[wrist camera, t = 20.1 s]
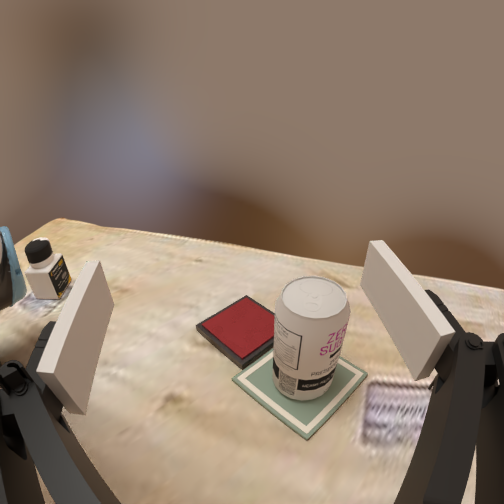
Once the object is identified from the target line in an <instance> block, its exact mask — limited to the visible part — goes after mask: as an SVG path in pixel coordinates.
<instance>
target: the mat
mask: <svg viewBox="0 0 504 504" xmlns="http://www.w3.org/2000/svg"><path fill="white" fill-rule="evenodd" d="M272 373H273V348H272V349H271V350H270V351H268V352H267V353H266V354H264V355H263V356H262V357H260V358H259V359H258V360H256V361H255V362H254V363H252V364H251V365H249V366H248V367H247V368H245V369H244V370H243V371H241V372H240V373H238V374H237V375H236V376H234V377H233V378H232V381H233V382H234V383H236V384H237V385H238V386H239V387H240V388H241V389H243V390H244V391H245V392H246V393H247V394H248V395H250V396H251V397H252V398H253V399H254V400H256V401H257V402H258V403H259V404H260V405H262V406H263V407H264V408H265V409H267V410H268V411H269V412H270V413H271V414H273V415H274V416H275V417H276V418H278V419H279V420H280V421H282V422H283V423H284V424H285V425H287V426H288V427H289V428H291V429H292V430H293V431H294V432H296V433H297V434H298V435H300V436H301V437H302V438H304V439H305V440H306V441H307V440H308V439H309V438H310V437H311V436H312V435H313V434H314V433H315V432H316V431H317V430H318V429H319V428H320V427H321V426H322V425H323V424H324V423H325V422H326V421H327V420H328V419H329V418H330V417H331V416H332V415H333V413H334V412H335V411H336V410H337V409H338V408H339V407H340V406H341V405H342V404H343V403H344V402H345V400H346V399H347V398H348V397H349V396H350V395H351V394H352V393H353V391H354V390H355V389H356V388H357V387H358V386H359V384H360V383H361V382H362V381H363V380H364V379H365V377H366V376H367V375H368V373H367V372H365V371H363V370H362V369H360V368H358V367H357V366H355V365H353V364H352V363H350V362H348V361H347V360H345V359H344V358H342V357H340V356H339V359H338V363H337V366H336V370H335V373H334V377H333V380H332V383H331V385H330V387H329V389H328V390H327V391H326V392H325V393H324V394H323V395H321V396H319V397H317V398H315V399H312V400H303V401H301V400H296V399H291V398H289V397H287V396H285V395H283V394H282V393H281V392H280V391H279V390H278V389H277V388H276V387H275V384H274V382H273V379H272Z"/></svg>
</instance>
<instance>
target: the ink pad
mask: <svg viewBox="0 0 504 504" xmlns="http://www.w3.org/2000/svg"><path fill="white" fill-rule="evenodd" d="M274 318H275V313H273V312H272V311H270V310H268V309H267V308H265V307H264V306H262V305H261V304H259V303H258V302H256V301H255V300H253V299H252V298H250V297H249V296H247V295H246V296H244V297H243V298H241V299H239V300H238V301H236V302H234V303H233V304H231V305H229V306H228V307H226V308H224V309H223V310H221V311H219V312H218V313H216V314H214V315H212V316H211V317H209V318H207V319H206V320H204V321H202V322H201V323H199V324H197V325H196V329H197V331H198V332H199V333H200V334H201V335H203V336H204V337H205V338H206V339H207V340H208V341H209V342H210V343H212V344H213V345H214V346H215V347H216V348H217V349H218V350H220V351H221V352H222V353H223V354H224V355H225V356H226V357H228V358H229V359H230V360H231V361H232V362H234V363H235V364H236V365H237V366H238V367H239V368H241V369H242V370H243V369H244V368H246V367H247V366H248V365H250V364H251V363H253V362H254V361H255V360H257V359H258V358H259V357H261V356H262V355H263V354H265V353H266V352H267V351H269V350H270V349H271V348H273V347H274Z"/></svg>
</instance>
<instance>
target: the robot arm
mask: <svg viewBox="0 0 504 504" xmlns="http://www.w3.org/2000/svg"><path fill="white" fill-rule="evenodd" d="M360 286H361V287H362V289H363V291H364V292H365V294H366V296H367V297H368V299H369V301H370V302H371V304H372V306H373V307H374V309H375V311H376V312H377V314H378V316H379V318H380V319H381V321H382V323H383V324H384V326H385V328H386V330H387V331H388V333H389V335H390V337H391V338H392V340H393V342H394V344H395V346H396V347H397V349H398V351H399V353H400V355H401V356H402V358H403V360H404V362H405V364H406V366H407V367H408V369H409V371H410V373H411V375H412V377H413V379H414V381H417V380H420V379H423V378H426V377H429V376H430V374H431V373H432V371H433V369H434V368H435V369H436V371H437V373H438V374H437V375H436V377H435V378H434V380H433V381H432V383H431V384H430V386H429V388H428V389H429V390H430V389H431V388H432V386H433V389H432V394H431V398H430V402H429V406H428V409H427V413H426V417H425V420H424V424H423V427H422V430H421V433H420V437H419V440H418V443H417V446H416V449H415V452H414V455H413V457H412V460H411V463H410V466H409V468H408V471H407V474H406V476H405V479H404V481H403V484H402V486H401V488H400V491H399V493H398V495H397V498H396V500H395V502H394V504H461V502H462V498H463V495H464V492H465V488H466V485H467V481H468V477H469V473H470V469H471V465H472V460H473V456H474V451H475V446H476V492H475V504H504V333H501V334H500V335H499V336H498V337H497V339H496V340H495V342H483V340H482V339H481V338H480V337H479V336H478V335H476V334H474V333H470V332H467V333H466V332H465V331H464V330H463V328H462V327H461V326H460V324H459V323H458V322H457V320H456V319H455V318H454V316H453V315H452V314H451V312H450V311H448V308H447V307H446V306H445V305H444V303H443V302H442V301H441V299H440V298H439V297H438V296H437V295H436V294H434V293H433V292H432V291H430V290H424V289H423V288H422V287H421V286H420V284H419V283H418V282H417V281H416V279H415V278H414V277H413V276H412V274H411V273H410V272H409V271H408V270H407V269H406V267H405V266H404V265H403V264H402V262H401V261H400V260H399V259H398V258H397V256H396V255H395V254H394V253H393V252H392V251H391V249H390V248H389V247H388V246H387V245H386V244H385V243H384V242H383V240H379V241H370V242H369V247H368V252H367V256H366V261H365V265H364V270H363V274H362V278H361V283H360ZM26 291H27V289H26V285H25V281H24V278H23V275H22V272H21V269H20V265H19V261H18V258H17V255H16V251H15V248H14V244H13V241H12V238H11V234H10V231H9V229H8V228H7V227H5V226H3V227H0V311H1V310H3V309H5V308H7V307H11V306H13V305H14V304H15V303H16V302H18V301H19V300H21V299H23V298H24V297H25V295H26ZM113 307H114V302H113V299H112V296H111V293H110V290H109V287H108V284H107V281H106V278H105V275H104V272H103V269H102V266H101V263H100V260H99V261H86V263H85V264H84V266H83V268H82V270H81V272H80V274H79V276H78V278H77V280H76V282H75V284H74V286H73V288H72V290H71V292H70V294H69V296H68V298H67V300H66V302H65V304H64V306H63V308H62V310H61V313H60V315H59V317H58V319H57V321H56V322H53V321H50V322H49V323H48V324H47V325H46V326H45V327H44V328H43V330H42V332H41V334H40V336H39V338H38V341H37V343H36V345H35V348H34V350H33V352H32V354H31V357H30V359H29V362H28V364H27V367H26V369H25V368H24V367H23V365H22V364H21V363H20V362H19V361H17V360H11V361H8V362H6V363H4V364H3V365H2V366H1V362H0V387H1V388H2V389H0V504H45V501H44V498H43V495H42V491H41V488H40V484H39V481H38V477H37V473H36V469H35V466H36V468H37V470H38V472H39V474H40V476H41V478H42V480H43V482H44V484H45V485H46V487H47V489H48V491H49V493H50V495H51V496H52V498H53V500H54V502H55V503H56V504H121V503H120V502H119V500H118V499H117V498H116V496H115V495H114V494H113V492H112V491H111V490H110V488H109V487H108V486H107V484H106V483H105V482H104V480H103V479H102V477H101V476H100V475H99V473H98V472H97V470H96V469H95V467H94V466H93V464H92V463H91V461H90V460H89V458H88V457H87V455H86V453H85V452H84V450H83V449H82V447H81V445H80V444H79V442H78V440H77V439H76V437H75V435H74V434H73V432H72V430H71V428H70V427H69V425H68V423H67V421H66V419H65V417H64V416H63V415H62V414H61V412H62V408H63V406H64V407H65V409H66V410H67V411H68V412H69V413H72V414H80V415H86V410H87V406H88V401H89V396H90V392H91V387H92V383H93V379H94V375H95V371H96V367H97V363H98V359H99V355H100V352H101V348H102V344H103V341H104V337H105V334H106V330H107V327H108V324H109V320H110V317H111V314H112V311H113ZM498 379H499V383H500V385H498V381H497V380H498ZM34 464H35V465H34Z"/></svg>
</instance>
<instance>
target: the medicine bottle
mask: <svg viewBox="0 0 504 504" xmlns="http://www.w3.org/2000/svg"><path fill="white" fill-rule="evenodd" d="M25 253H26V256H27V258H28V261H29V264H30V266H29V267H28V269H27V270H26V271H25V275H26V277H27V280H28V282H29V284H30V286H31V289H32V291H33V293H34V295H35V297H36V299H60V298H61V296H62V294H63V293H64V291H65V289H66V288H67V286H68V285H69V283H70V281H71V277H70V275H69V272H68V269H67V266H66V264H65V261H64V258H63V255H62V254H53V251H52V248H51V245H50V242H49V240H48V239H47V238H37V239H34V240H33V241H31V242H30V243H29V244H28V245H27V246H26V247H25Z"/></svg>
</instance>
